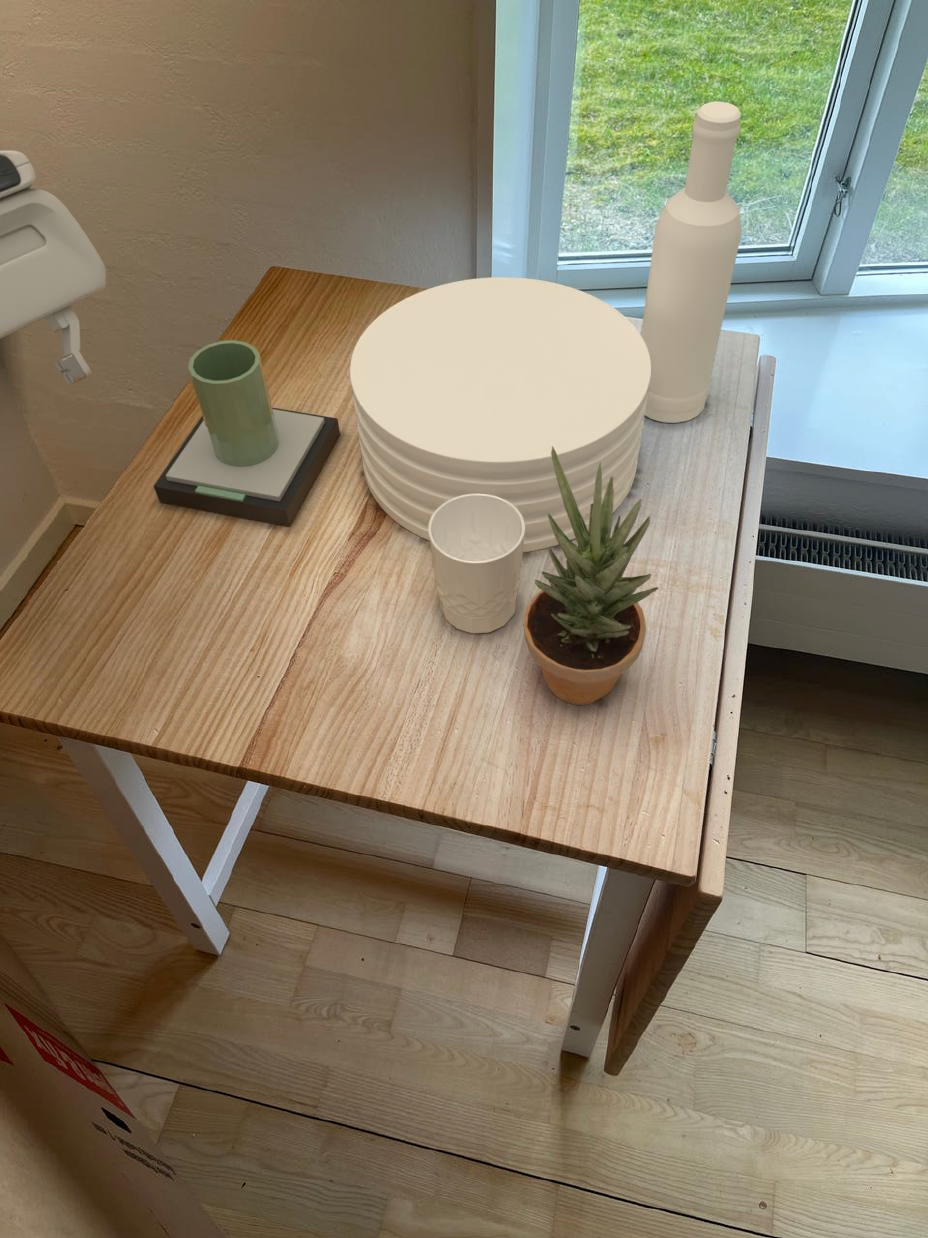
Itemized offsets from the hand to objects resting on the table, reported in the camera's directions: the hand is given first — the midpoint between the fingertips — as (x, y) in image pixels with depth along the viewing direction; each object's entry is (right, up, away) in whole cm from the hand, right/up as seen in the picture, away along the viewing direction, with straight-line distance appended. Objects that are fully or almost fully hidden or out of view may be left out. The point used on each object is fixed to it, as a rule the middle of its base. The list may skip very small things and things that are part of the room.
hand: (21, 410), depth 66 cm
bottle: (+53, +9, +36) cm, 65 cm away
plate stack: (+34, +2, +32) cm, 47 cm away
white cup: (+32, -13, +19) cm, 40 cm away
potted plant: (+41, -20, +14) cm, 47 cm away
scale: (+9, +1, +31) cm, 32 cm away
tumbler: (+9, +3, +29) cm, 30 cm away
